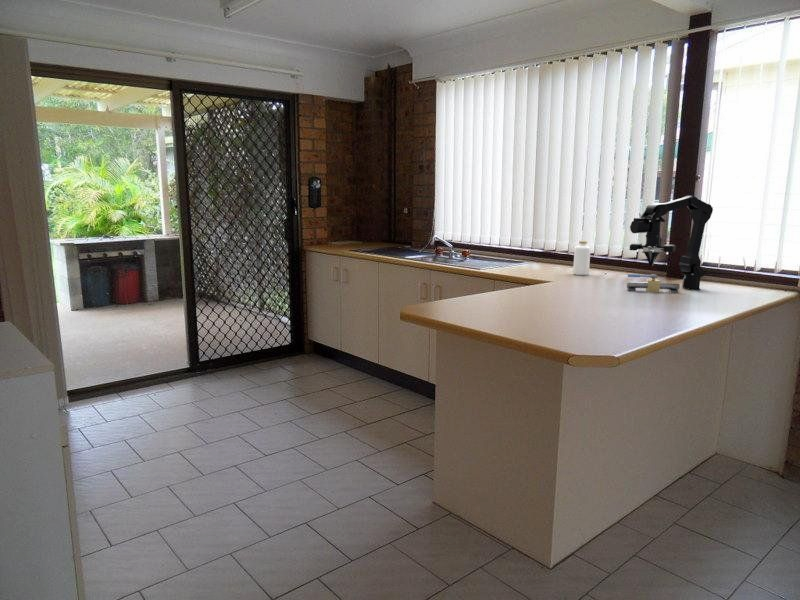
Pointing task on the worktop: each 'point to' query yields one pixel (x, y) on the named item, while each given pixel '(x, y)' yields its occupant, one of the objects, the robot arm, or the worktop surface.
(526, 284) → the worktop surface
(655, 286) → the pipe run
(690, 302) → the worktop surface
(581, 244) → the potion bottle
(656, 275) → the valve lever
